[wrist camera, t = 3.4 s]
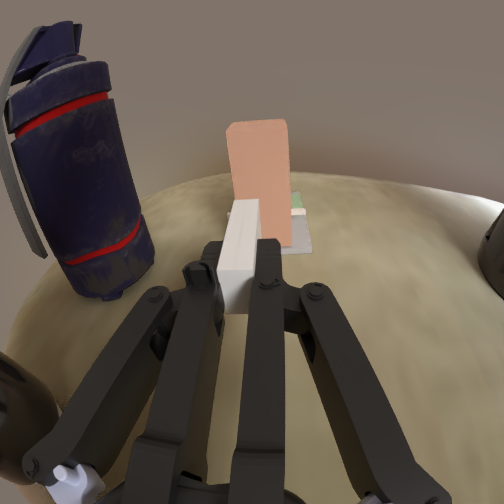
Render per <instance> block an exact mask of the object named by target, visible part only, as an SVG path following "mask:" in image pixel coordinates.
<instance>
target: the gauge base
mask: <svg viewBox="0 0 504 504" xmlns="http://www.w3.org/2000/svg"><path fill="white" fill-rule="evenodd" d="M234 200H235V198H234ZM233 203H234V202H233ZM293 208H303V204H302V200H301V195H300V191H298V192H291V209H293ZM291 223H292V246H283V247H281V255H283V254H305V253H312V245H311V240H310V235H309V230H308V226H307V221H306V217H305V215H291Z"/></svg>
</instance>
